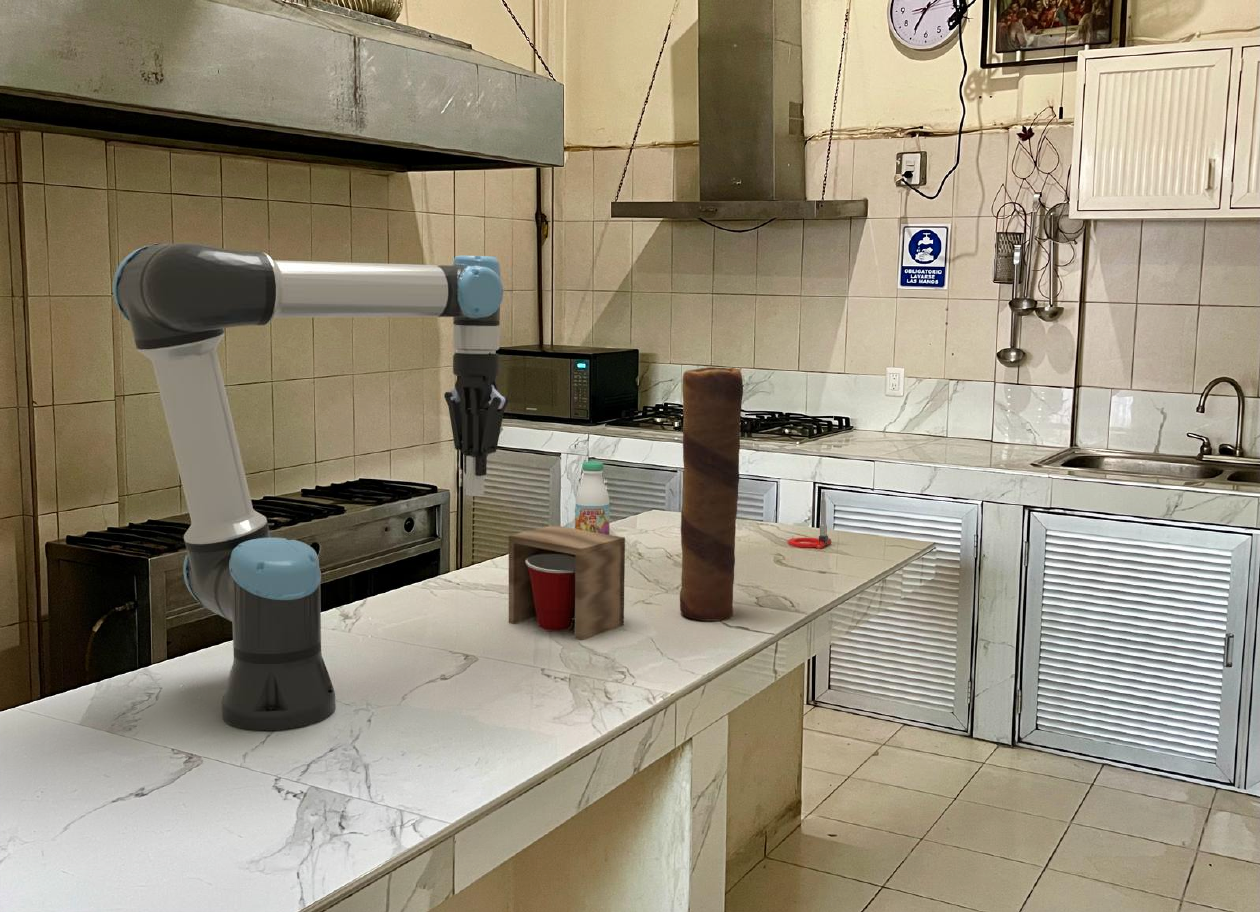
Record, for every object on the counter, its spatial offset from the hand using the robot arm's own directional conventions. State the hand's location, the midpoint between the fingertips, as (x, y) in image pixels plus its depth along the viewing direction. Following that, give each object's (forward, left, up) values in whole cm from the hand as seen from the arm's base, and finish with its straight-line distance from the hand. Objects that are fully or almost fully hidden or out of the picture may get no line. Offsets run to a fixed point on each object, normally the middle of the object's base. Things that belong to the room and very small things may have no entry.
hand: (475, 494), depth 200 cm
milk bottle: (+66, +28, -25) cm, 76 cm away
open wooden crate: (+17, -6, -25) cm, 30 cm away
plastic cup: (+14, -6, -25) cm, 29 cm away
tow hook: (+104, -6, -25) cm, 107 cm away
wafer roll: (+38, -22, -25) cm, 50 cm away
